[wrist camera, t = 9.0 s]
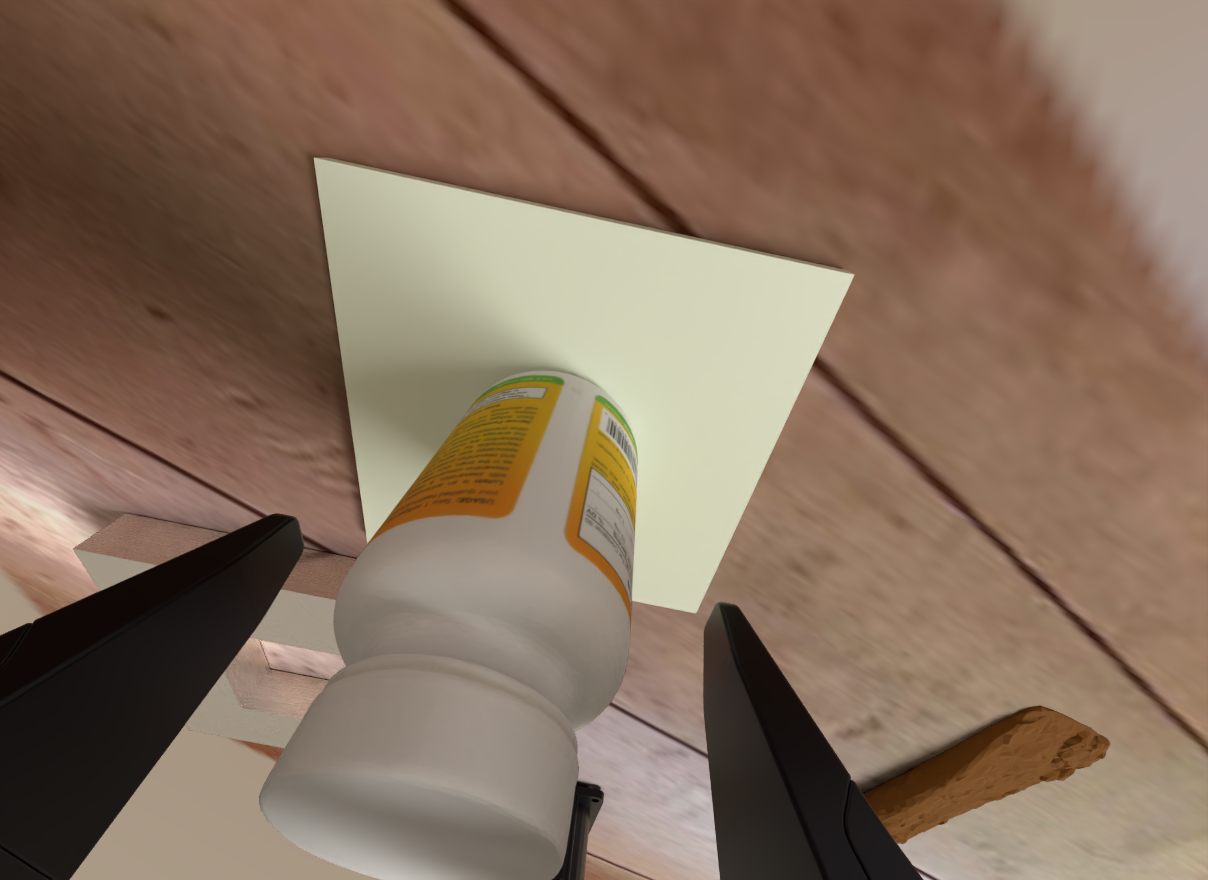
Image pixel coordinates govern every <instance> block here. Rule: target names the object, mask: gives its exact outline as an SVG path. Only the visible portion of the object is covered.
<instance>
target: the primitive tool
mask: <svg viewBox="0 0 1208 880" xmlns="http://www.w3.org/2000/svg"><path fill="white" fill-rule="evenodd" d="M1109 746H1110V742H1109V740H1108V739H1107V738H1105V737H1104V736H1102V735H1099V734H1097V732H1095V731H1094V730H1093V729H1091V728H1090V727H1088V726H1086V725H1083V724H1081V723H1079V722H1077V721H1075V720H1074V719H1072V718H1070V717H1068V716H1066V715H1063V714H1061V713H1059V712H1056V711H1054V710H1051V709H1048V708H1045V707H1043V706H1036V707H1030V708H1028V709H1026V710H1024V711H1021V712H1019V713H1016V714H1015V715H1012V716H1010V717H1008V718H1006V719H1004V720H1002V721H1000V722H998V723H996V724H994V725H991V726H990V727H988V728H986V729H984V730H983V731H981V732H979V733H977V734H976V735H974V736H972V737H970V738H968V739H966V740H965V741H963V742H962V743H960V744H958V745H956V746H954V747H952V748H951V749H949V750H947V751H945V752H944V753H942V754H940V755H938V756H936V757H934V758H932V759H930V760H928V761H926V762H924V763H922V764H921V765H919V766H917V767H915V768H913V769H911V770H910V771H908V772H907V773H905V774H904V775H901V776H899V777H896V778H893V779H891V780H889V781H887V782H886V783H885V784H882V785H879V786H878V787H876V788H874V789H872V790H870V791H868V792H866V793H864V794H863V795H864V797H865V798H866V800H867V801H868V803H869V804H870V806H871V807H872V809H873V810H874V812H875V813H876V814H877V816H878V817H879V819H880V820H881V822H882V823H883V825H884V826H885V828H886V829H887V830H888V832H889V833H890V835H891V836H892V838H893V839H894V841H895V842H896V843H897V844H898V843H901V844H904V843H906V842H907V840H908V839H910V838H912V837H914V836H915V835H917V834H919V833H921V832H925V831H927V830H929V829H931V828H933V827H935V826H937V825H941V824H945V823H947V821H948V819H951V818H953V817H955V816H958V815H961V814H963V813H965V812H967V811H969V810H971V809H976V808H978V807H980V806H983V805H984V804H985V803H988V802H991V801H994V800H1000V799H1003V798H1004V797H1006V796H1008V795H1011V794H1015V793H1017V792H1019V791H1021V790H1025V789H1026V788H1027V787H1030V786H1032V785H1034V784H1038V783H1040V782H1042V781H1046V782H1049V781H1054V780H1062V781H1063V780H1065V779H1066V778H1068V777H1069V776H1071V775H1072V774H1073V773H1074V772H1075V770H1076V769H1080V768H1085V767H1089V766H1091V764H1092V763H1094V762H1096V761H1098V760H1099V759H1103V758H1104V757H1105V755H1106V751H1107V750H1108V748H1109Z"/></svg>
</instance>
